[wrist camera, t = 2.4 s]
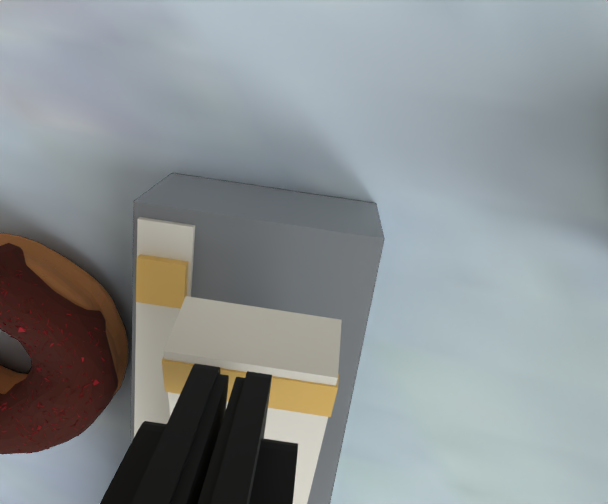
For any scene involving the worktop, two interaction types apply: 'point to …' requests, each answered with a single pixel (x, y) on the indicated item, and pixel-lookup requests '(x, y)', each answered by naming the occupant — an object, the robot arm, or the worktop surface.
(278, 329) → the block
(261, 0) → the worktop surface
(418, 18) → the worktop surface
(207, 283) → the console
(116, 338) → the donut
